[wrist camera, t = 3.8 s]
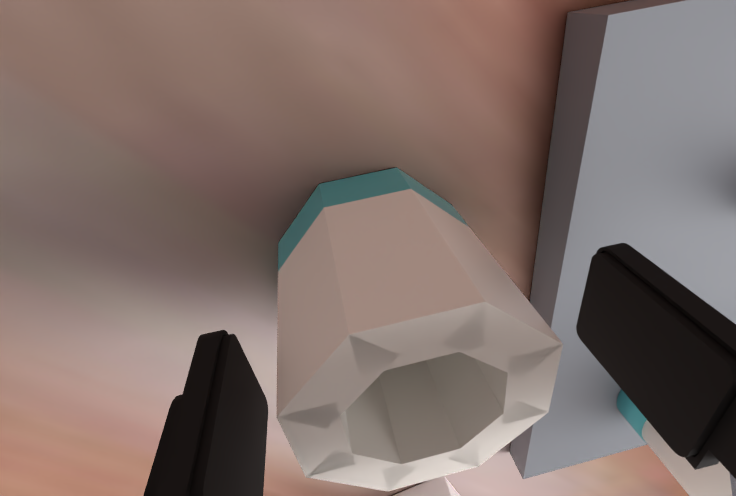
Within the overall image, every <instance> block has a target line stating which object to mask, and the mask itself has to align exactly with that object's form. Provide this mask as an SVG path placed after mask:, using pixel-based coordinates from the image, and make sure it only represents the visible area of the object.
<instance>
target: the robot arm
mask: <svg viewBox="0 0 736 496" xmlns="http://www.w3.org/2000/svg"><path fill="white" fill-rule="evenodd" d="M576 331H577V334H578V336H579V338H580V340H581V341H582V342H583V343H584V345H585V346H586V347H587V348H588V349H589V351H590V352H591V353H592V354H593V355H594V357H595V358H596V359H597V360H598V361H599V363H600V364H601V365H602V366H603V367H604V369H605V370H606V371H607V372H608V373H609V375H610V376H611V377H612V378H613V379H614V381H615V382H616V383H617V384H618V386H619V387H620V388H621V389H622V390H623V392H624V393H625V394H626V395H627V396H628V398H629V399H630V400H631V401H632V402H633V404H634V405H635V406H636V407H637V408H638V410H639V411H640V412H641V413H642V414H643V416H644V417H645V418H646V419H647V420H648V422H649V423H650V424H651V425H652V426H653V428H654V429H655V430H656V431H657V432H658V434H659V435H660V436H661V437H662V438H663V440H664V441H665V442H666V443H667V444H668V446H669V447H670V448H671V449H672V450H673V451H674V452H675V453H676V454H677V455H679V456H681V457H685V458H686V460H687V461H688V462H689V463H690V464H691V466H692V467H693V468H694V469H695V470H696V469H700V468H704V467H708V466H712V465H716V464H718V463H719V461H720V463H721V464H722V465H723V466H724V467H725V468H726V469H727V470H728V471H729V473H730V481H731V489H732V496H736V324H735V323H733V322H732V321H731V320H729V319H728V318H727V317H725V316H724V315H723V314H721V313H720V312H719V311H717V310H716V309H715V308H713V307H712V306H711V305H709V304H708V303H706V302H705V301H704V300H702V299H701V298H700V297H698V296H697V295H696V294H694V293H693V292H692V291H690V290H689V289H688V288H686V287H685V286H684V285H682V284H681V283H680V282H678V281H677V280H676V279H674V278H673V277H672V276H670V275H669V274H668V273H666V272H665V271H664V270H662V269H661V268H659V267H658V266H657V265H655V264H654V263H653V262H651V261H650V260H649V259H647V258H646V257H645V256H643V255H642V254H641V253H639V252H638V251H637V250H635V249H634V248H633V247H631V246H630V245H628V244H626V243H619V244H614V245H609V246H605V247H601V248H599V249H598V250H597V252H596V254H595V255H593V256H592V259H591V263H590V267H589V272H588V276H587V281H586V285H585V289H584V294H583V298H582V303H581V307H580V311H579V316H578V320H577V325H576ZM267 421H268V405H267V400H266V397H265V395H264V393H263V391H262V389H261V387H260V385H259V383H258V380H257V378H256V376H255V374H254V372H253V370H252V368H251V366H250V364H249V362H248V360H247V358H246V356H245V354H244V352H243V350H242V347H241V345H240V343H239V341H238V339H237V337H236V336H235V335H234V334H230V335H228V333H227V331H225V330H221V331H216V332H212V333H207V334H203V335H200V336H199V338H198V341H197V345H196V348H195V352H194V355H193V359H192V363H191V366H190V370H189V373H188V377H187V381H186V384H185V388H184V391H183V394H182V395H179V396H176V397H175V399H174V400H173V401H172V404H171V406H170V409H169V412H168V416H167V419H166V422H165V426H164V429H163V432H162V436H161V439H160V442H159V446H158V449H157V452H156V456H155V459H154V462H153V466H152V469H151V472H150V476H149V479H148V482H147V486H146V489H145V492H144V496H263V487H264V470H265V454H266V437H267Z"/></svg>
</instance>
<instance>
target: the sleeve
mask: <svg viewBox="0 0 736 496" xmlns="http://www.w3.org/2000/svg"><path fill="white" fill-rule="evenodd" d="M562 348H563V343H562V342H561V341H560V340H559V338H558V337H557V336H556V335H555V333H554V332H553V331H552V330H551V328H550V327H549V326H548V325H547V323H546V322H545V321H544V320H543V318H542V317H541V316H540V315H539V313H538V312H537V311H536V310H535V308H534V307H533V306H532V305H531V303H530V302H529V301H528V300H527V298H526V297H525V296H524V295H523V293H522V292H521V291H520V290H519V288H518V287H517V286H516V285H515V283H514V282H513V281H512V280H511V278H510V277H509V276H508V275H507V273H506V272H505V271H504V270H503V268H502V267H501V266H500V265H499V263H498V262H497V261H496V260H495V258H494V257H493V256H492V255H491V253H490V252H489V251H488V250H487V248H486V247H485V246H484V245H483V243H482V242H481V241H480V240H479V238H478V237H477V236H476V235H475V233H474V232H473V231H472V230H471V228H470V227H469V226H468V225H467V223H466V222H465V221H464V220H463V218H462V217H461V216H460V215H459V213H458V212H457V211H456V210H455V208H454V207H453V206H452V205H451V204H450V203H448V202H447V201H445V200H444V199H443V198H441V197H440V196H438V195H437V194H435V193H434V192H432V191H431V190H429V189H428V188H426V187H425V186H423V185H422V184H420V183H419V182H417V181H416V180H415V179H413V178H412V177H410V176H409V175H407V174H406V173H404V172H403V171H401V170H400V169H398V168H397V167H396V168H392V169H387V170H382V171H378V172H373V173H368V174H363V175H359V176H354V177H349V178H345V179H340V180H335V181H330V182H326V183H321V184H319V185H318V186H317V188H316V189H315V191H314V192H313V193H312V195H311V196H310V198H309V199H308V201H307V202H306V204H305V205H304V206H303V208H302V209H301V211H300V212H299V214H298V215H297V217H296V218H295V219H294V221H293V222H292V224H291V225H290V227H289V228H288V230H287V231H286V233H285V234H284V235H283V237H282V238H281V240H280V241H279V243H278V328H277V419H278V421H279V423H280V425H281V427H282V429H283V431H284V433H285V435H286V437H287V439H288V442H289V444H290V446H291V448H292V450H293V452H294V454H295V456H296V458H297V460H298V462H299V464H300V466H301V468H302V470H303V472H304V474H305V476H306V477H307V478H313V479H319V480H324V481H330V482H336V483H342V484H347V485H353V486H359V487H365V488H370V489H376V490H382V491H391V490H395V489H399V488H402V487H406V486H410V485H413V484H417V483H421V482H424V481H428V480H431V479H435V478H439V477H442V476H446V475H450V474H453V473H457V472H461V471H464V470H468V469H472V468H475V467H478V466H480V465H481V464H482V463H484V462H485V461H486V460H488V459H489V458H490V457H491V456H493V455H494V454H495V453H497V452H498V451H499V450H500V449H502V448H503V447H504V446H506V445H507V444H508V443H510V442H511V441H512V440H513V439H515V438H516V437H517V436H519V435H520V434H521V433H522V432H524V431H525V430H526V429H528V428H529V427H530V426H532V425H533V424H534V423H535V422H537V421H538V420H539V419H541V418H542V417H543V416H544V415H546V414H547V413H548V412H549V407H550V403H551V398H552V394H553V389H554V384H555V380H556V375H557V371H558V366H559V361H560V357H561V352H562Z"/></svg>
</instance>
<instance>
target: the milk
mask: <svg viewBox="0 0 736 496" xmlns="http://www.w3.org/2000/svg"><path fill="white" fill-rule="evenodd" d="M393 496H460V494H459V493H458V492H457V491H456V489H455V488H454V487H453V486H452V484H451V483H450V482H449V480H448V479H447V478H446V477H445V476H442V477H439V478H435V479H431V480H428V481H426V482H423V483H421V484H419V485H416V486H414V487H412V488H409V489H407V490H405V491H402V492H400V493H398V494H395V495H393Z"/></svg>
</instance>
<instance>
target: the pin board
mask: <svg viewBox="0 0 736 496" xmlns="http://www.w3.org/2000/svg"><path fill="white" fill-rule="evenodd" d="M619 243H626V244H628V245H630V246H631V247H633V248H634V249H635V250H637V251H638V252H639V253H641V254H642V255H643V256H645V257H646V258H647V259H649V260H650V261H651V262H653V263H654V264H655V265H657V266H658V267H659V268H661V269H662V270H664V271H665V272H666V273H668V274H669V275H670V276H672V277H673V278H674V279H676V280H677V281H678V282H680V283H681V284H682V285H684V286H685V287H686V288H688V289H689V290H690V291H692V292H693V293H694V294H696V295H697V296H698V297H700V298H701V299H702V300H704V301H705V302H706V303H708V304H709V305H711V306H712V307H713V308H715V309H716V310H717V311H719V312H720V313H721V314H723V315H724V316H725V317H727V318H728V319H729V320H731V321H732V322H733V323H735V324H736V0H630V1H625V2H620V3H614V4H609V5H604V6H598V7H593V8H588V9H582V10H577V11H572V12H568V14H567V22H566V30H565V37H564V45H563V52H562V60H561V68H560V75H559V83H558V90H557V98H556V106H555V113H554V121H553V128H552V136H551V144H550V151H549V159H548V166H547V174H546V181H545V189H544V197H543V204H542V212H541V219H540V227H539V235H538V242H537V250H536V257H535V265H534V273H533V280H532V288H531V295H530V303H531V305H532V306H533V307H534V308H535V310H536V311H537V312H538V313H539V315H540V316H541V317H542V318H543V320H544V321H545V322H546V323H547V325H548V326H549V327H550V328H551V330H552V331H553V332H554V333H555V335H556V336H557V337H558V338H559V340H560V341H561V342H562V343H563V348H562V352H561V357H560V361H559V366H558V371H557V375H556V380H555V384H554V389H553V394H552V398H551V403H550V407H549V412H548V413H547V414H546V415H544V416H543V417H542V418H541V419H539V420H538V421H537V422H535V423H534V424H533V425H532V426H530V427H529V428H528V429H526V430H525V431H524V432H522V433H521V434H520V435H519V436H517V437H516V438H515V439H513V440H512V441H511V447H510V454H511V456H512V458H513V460H514V462H515V464H516V466H517V468H518V470H519V472H520V474H521V476H522V478H523V479H526V478H529V477H533V476H536V475H540V474H543V473H547V472H551V471H554V470H558V469H561V468H565V467H569V466H572V465H576V464H579V463H583V462H586V461H590V460H594V459H597V458H601V457H604V456H608V455H611V454H615V453H619V452H622V451H626V450H629V449H633V448H637V447H640V446H644V445H647V444H648V445H649V447H650V448H651V449H652V450H653V451H654V453H655V454H656V455H657V456H658V458H659V459H660V460H661V461H662V463H663V464H664V465H665V466H666V468H667V469H668V470H669V471H670V472H671V474H672V475H673V476H674V477H675V479H676V480H677V481H678V482H679V484H680V485H681V486H682V487H683V488H684V490H685V491H686V492H687V493H688V495H689V496H732V489H731V481H730V473H729V471H728V470H727V469H726V468H725V467H724V466H723V465H722V464H721V463H720V461H719V463H718V464H716V465H712V466H708V467H704V468H700V469H696V470H695V469H694V468H693V467H692V466H691V464H690V463H689V462H688V461H687V460H686V458H685V457H681V456H679V455H677V454H676V453H675V452H674V451H673V450H672V449H671V448H670V447H669V446H668V444H667V443H666V442H665V441H664V440H663V438H662V437H661V436H660V435H659V434H658V432H657V431H656V430H655V429H654V428H653V426H652V425H651V424H650V423H649V422H648V420H647V419H646V418H645V417H644V416H643V414H642V413H641V412H640V411H639V410H638V408H637V407H636V406H635V405H634V404H633V402H632V401H631V400H630V399H629V398H628V396H627V395H626V394H625V393H624V392H623V390H622V389H621V388H620V387H619V386H618V384H617V383H616V382H615V381H614V379H613V378H612V377H611V376H610V375H609V373H608V372H607V371H606V370H605V369H604V367H603V366H602V365H601V364H600V363H599V361H598V360H597V359H596V358H595V357H594V355H593V354H592V353H591V352H590V351H589V349H588V348H587V347H586V346H585V345H584V343H583V342H582V341H581V340H580V338H579V336H578V334H577V331H576V325H577V320H578V316H579V311H580V307H581V303H582V298H583V294H584V289H585V285H586V281H587V276H588V272H589V267H590V263H591V259H592V256H593V255H595V254H596V252H597V250H598V249H599V248H601V247H605V246H609V245H614V244H619Z"/></svg>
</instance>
